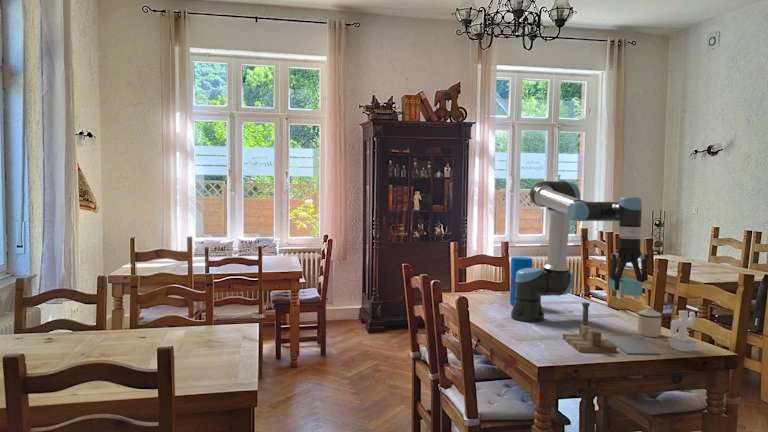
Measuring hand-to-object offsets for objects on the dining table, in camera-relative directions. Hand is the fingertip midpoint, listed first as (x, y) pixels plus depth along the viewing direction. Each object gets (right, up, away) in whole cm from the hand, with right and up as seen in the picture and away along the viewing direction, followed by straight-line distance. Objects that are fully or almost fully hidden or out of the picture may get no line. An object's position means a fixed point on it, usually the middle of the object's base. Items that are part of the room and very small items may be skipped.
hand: (627, 298), depth 202 cm
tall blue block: (-21, -16, +78) cm, 82 cm away
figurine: (+21, -20, +1) cm, 29 cm away
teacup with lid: (+19, -19, +24) cm, 36 cm away
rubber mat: (+3, -19, +4) cm, 20 cm away
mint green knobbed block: (0, +2, +3) cm, 4 cm away
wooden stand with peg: (-13, -19, +5) cm, 23 cm away
